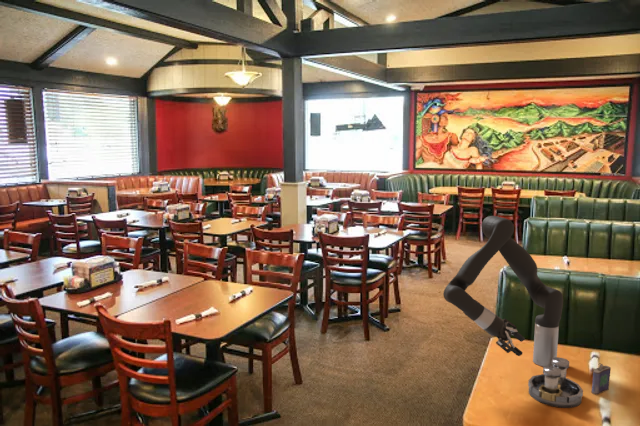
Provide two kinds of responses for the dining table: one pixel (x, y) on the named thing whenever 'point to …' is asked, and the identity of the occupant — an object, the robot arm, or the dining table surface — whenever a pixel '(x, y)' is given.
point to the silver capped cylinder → (551, 378)
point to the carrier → (566, 393)
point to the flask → (601, 379)
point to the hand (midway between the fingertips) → (522, 347)
